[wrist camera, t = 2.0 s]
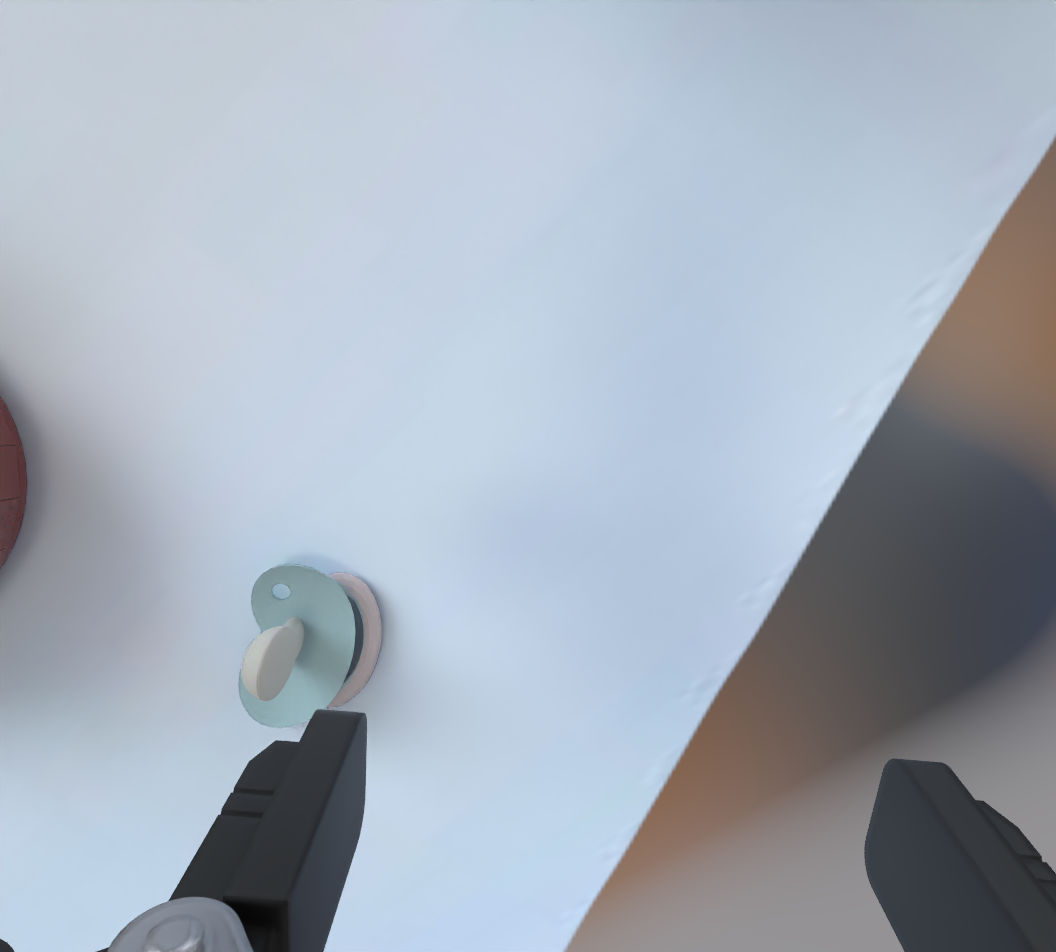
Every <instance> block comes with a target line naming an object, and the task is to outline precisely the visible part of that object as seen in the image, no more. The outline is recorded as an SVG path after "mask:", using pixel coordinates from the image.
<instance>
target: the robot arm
mask: <svg viewBox="0 0 1056 952" xmlns="http://www.w3.org/2000/svg"><path fill="white" fill-rule="evenodd" d="M366 746H367V718H366V714H365V713H358V712H346V711H334V710H322V709H317V710H316V711H315V712H314V714H313V716H312V718H311V720H310V722H309V724H308V726H307V728H306V730H305V732H304V734H303V736H302V738H301V740H300V742H290V741H278V740H276V741H275V742H273V743H272V744H271V745H269V746H268V747H267V748H266V749H264V750H263V751H262V752H261V753H259V754H258V755H257V756H256V757H254V758H253V759H252V760H250V761H249V763H248V765H247V766H246V768H245V770H244V771H243V773H242V775H241V777H240V778H239V780H238V782H237V784H236V785H235V787H234V792H233V793H231V794H230V796H229V797H228V799H227V801H226V803H225V804H224V806H223V808H222V811H221V815H218V816H217V818H216V820H215V822H214V823H213V825H212V827H211V828H210V830H209V832H208V834H207V835H206V837H205V839H204V841H203V842H202V844H201V846H200V847H199V849H198V851H197V853H196V854H195V856H194V858H193V860H192V861H191V863H190V865H189V866H188V868H187V870H186V872H185V873H184V875H183V877H182V879H181V880H180V882H179V884H178V885H177V887H176V889H175V891H174V892H173V894H172V896H171V898H170V899H169V901H168V902H165V903H162V904H160V905H157V906H155V907H153V908H151V909H149V910H147V911H146V912H144V913H142V914H141V915H139V916H138V917H136V918H135V919H134V920H132V921H131V922H130V923H129V924H128V925H127V926H126V927H125V928H124V929H122V930H121V931H120V933H119V934H118V935H117V936H116V938H115V939H114V940H113V942H112V943H111V945H110V947H108V948H106V949H103V950H100V951H97V952H323V951H324V948H325V944H326V941H327V938H328V935H329V932H330V929H331V925H332V922H333V919H334V916H335V913H336V910H337V907H338V903H339V900H340V897H341V894H342V891H343V888H344V884H345V881H346V878H347V875H348V872H349V869H350V865H351V862H352V859H353V856H354V853H355V850H356V846H357V843H358V840H359V836H360V831H361V827H362V821H363V814H364V806H365V786H366ZM1041 858H1042V857H1041V855H1040V854H1039V853H1038V851H1037V850H1036V849H1035V848H1034V847H1033V845H1032V844H1031V843H1030V842H1029V841H1028V839H1027V838H1026V837H1025V836H1024V834H1023V833H1022V832H1021V831H1020V829H1019V828H1018V827H1016V826H1015V825H1014V824H1013V823H1012V822H1010V821H1009V820H1008V819H1006V818H1005V817H1004V816H1002V815H1001V814H1000V813H998V812H997V811H996V810H994V809H993V808H992V807H991V806H989V805H988V804H987V803H985V802H984V801H977V800H975V799H974V798H973V797H972V795H971V794H970V793H969V791H968V790H967V789H966V788H965V786H964V785H963V784H962V782H961V781H960V780H959V779H958V777H957V776H956V775H955V773H954V772H953V771H952V770H951V769H950V768H949V767H948V766H947V765H946V764H944V763H940V762H927V761H916V760H904V759H891V760H889V761H888V762H887V764H886V765H885V767H884V769H883V772H882V776H881V781H880V784H879V788H878V793H877V797H876V800H875V804H874V808H873V812H872V816H871V820H870V824H869V828H868V832H867V836H866V841H865V865H866V871H867V875H868V879H869V882H870V884H871V887H872V889H873V891H874V893H875V895H876V897H877V899H878V900H879V903H880V904H881V906H882V908H883V910H884V912H885V914H886V916H887V918H888V920H889V922H890V924H891V926H892V928H893V930H894V932H895V934H896V936H897V938H898V940H899V941H900V943H901V945H902V947H903V949H904V951H905V952H1056V874H1055V872H1054V871H1053V870H1052V869H1051V867H1050V866H1049V865H1048V864H1047V863H1046V862H1042V859H1041ZM0 952H14V950H13V948H12V947H11V946H10V945H9V944H8V943H7V942H5V941H3V940H1V939H0Z"/></svg>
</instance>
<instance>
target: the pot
mask: <svg viewBox="0 0 1056 952" xmlns="http://www.w3.org/2000/svg"><path fill="white" fill-rule="evenodd" d="M26 489H27V478H26V465H25V458H24V454H23V449H22V444H21V440H20V438H19V435H18V432H17V429H16V427H15V424H14V421H13V419H12V417H11V415H10V413H9V411H8V409H7V407H6V405H5V404H4V402H3V400H2V398H1V397H0V568H1V567H2V566H3V564H4V563H5V561H6V559H7V557H8V555H9V553H10V551H11V549H12V548H13V546H14V543H15V541H16V538H17V535H18V532H19V530H20V527H21V523H22V519H23V514H24V509H25V504H26Z"/></svg>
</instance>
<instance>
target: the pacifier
mask: <svg viewBox="0 0 1056 952" xmlns="http://www.w3.org/2000/svg"><path fill="white" fill-rule="evenodd" d="M276 584H284V585H286V586H288V587H289V589H290V592H291V594H290V596H289V597H288V598H286V599H279V598H277V597H275V595H274V594H273V592H272V588H273V586H274V585H276ZM347 595H348V596H349V597H350V598H351V599H352V600H353V601H354V602H355V604H356V606H357V607H358V609H359V611H360V615H361V618H362V622H363V631H364V636H363V647H362V651H361V655H360V658H359V660H358V662H357V664H356V667H355V668H354V669H353V671H352V672H351V674H350V675H349V676H348V677H347V678H346V675H347V673H348V671H349V668H350V664H351V661H352V657H353V652H354V645H355V621H354V614H353V610H352V607H351V603H350V601H349V599H348V597H347ZM251 605H252V610H253V614H254V616H255V619H256V622H257V623H258V625H259V626H260V628H261V634H259V635H258V636H257V637H256V638H255V639H254V640H253V641H252V642H251V644H250V645H249V646H248V648H247V650H246V652H245V654H244V657H243V660H242V666H241V670H240V676H239V693H240V698H241V701H242V704H243V706H244V708H245V709H246V711H247V712H248V714H249V715H250V716H251V717H252V718H253V719H254V720H256V721H258V722H259V723H261V724H263V725H266V726H269V727H278V728H283V727H291V726H294V725H298V724H301V723H303V722H304V721H307V720H310V719H311V718H312V716H313V714H314V712H315V711H316V710H317V709H322V710H323V709H325V708H326V707H336V706H339V705H341V704H343V703H346V702H348V701H349V700H351V699H352V698H353V697H354V696H355V695H357V694H358V693H359V692H360V691H361V689H362V688H363V687H364V685H365V684H366V683H367V681H368V680H369V678H370V676H371V674H372V672H373V670H374V668H375V665H376V663H377V659H378V655H379V651H380V647H381V635H382V626H381V617H380V611H379V608H378V605H377V602H376V599H375V597H374V595H373V594H372V592H371V591H370V589H369V588H368V586H367V585H366V584H365V583H364V582H363V581H361V580H360V579H359V578H358V577H356V576H353V575H351V574H348V573H332V574H329V575H326V574H325V573H323V572H321V571H319V570H317V569H315V568H311V567H308V566H304V565H299V564H284V565H279V566H276V567H274V568H271V569H269V570H268V571H266V572H265V573H263V574H262V575H261V576H260V577H259V578H258V580H257V581H256V582H255V584H254V587H253V591H252V595H251ZM345 678H346V679H345Z"/></svg>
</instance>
